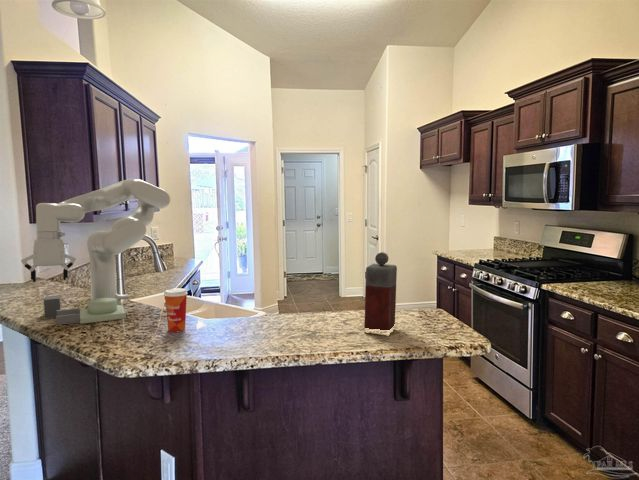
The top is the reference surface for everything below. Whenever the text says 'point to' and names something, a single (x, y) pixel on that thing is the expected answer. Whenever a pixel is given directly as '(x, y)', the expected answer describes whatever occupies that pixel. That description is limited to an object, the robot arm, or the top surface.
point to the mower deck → (102, 317)
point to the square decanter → (380, 294)
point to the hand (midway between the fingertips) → (49, 280)
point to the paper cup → (176, 309)
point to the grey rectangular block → (51, 306)
